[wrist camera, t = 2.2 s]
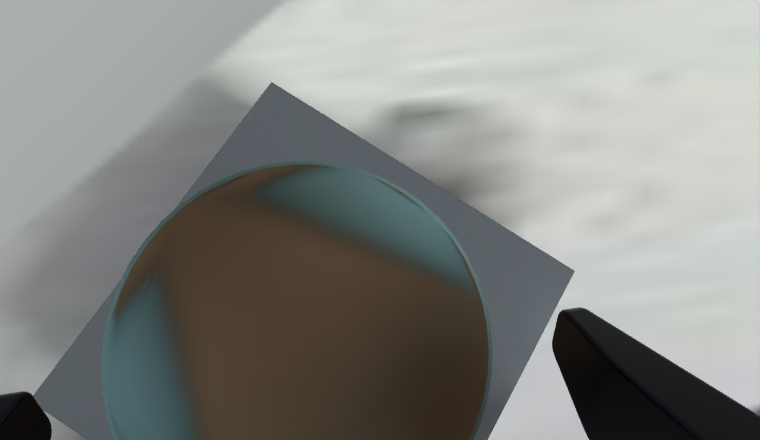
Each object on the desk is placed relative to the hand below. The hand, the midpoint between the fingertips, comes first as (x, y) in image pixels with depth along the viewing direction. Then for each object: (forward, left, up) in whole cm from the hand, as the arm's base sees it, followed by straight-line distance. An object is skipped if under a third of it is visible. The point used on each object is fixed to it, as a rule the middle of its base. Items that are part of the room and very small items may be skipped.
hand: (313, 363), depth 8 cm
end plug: (0, 0, -10) cm, 10 cm away
